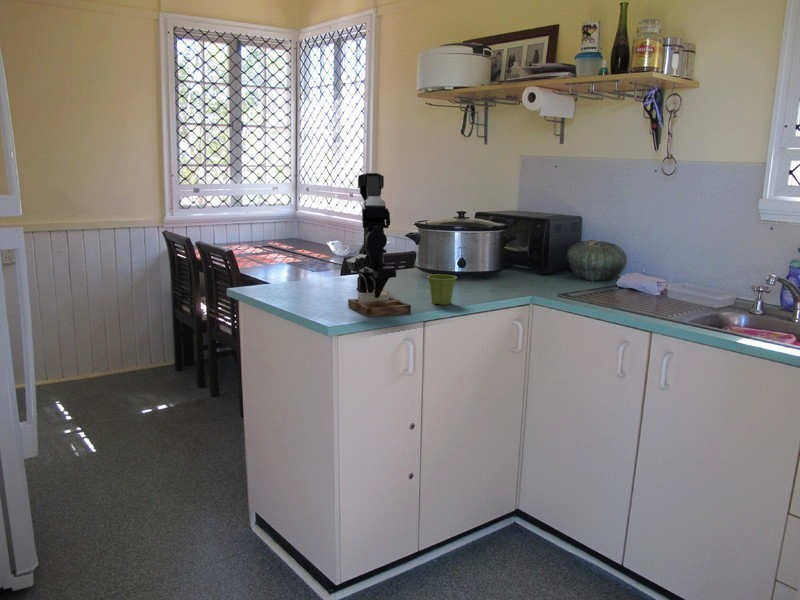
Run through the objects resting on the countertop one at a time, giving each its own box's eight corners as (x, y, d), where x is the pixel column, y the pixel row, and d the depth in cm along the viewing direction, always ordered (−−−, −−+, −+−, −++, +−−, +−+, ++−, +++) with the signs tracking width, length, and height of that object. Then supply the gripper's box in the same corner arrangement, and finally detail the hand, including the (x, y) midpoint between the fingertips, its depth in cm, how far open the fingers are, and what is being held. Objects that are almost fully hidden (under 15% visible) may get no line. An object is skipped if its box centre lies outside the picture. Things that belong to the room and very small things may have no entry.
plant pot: (421, 301, 217) (422, 274, 215) (447, 299, 220) (448, 273, 219) (434, 307, 208) (435, 279, 207) (460, 305, 212) (462, 278, 210)
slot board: (388, 303, 212) (388, 295, 212) (410, 312, 200) (410, 305, 199) (348, 306, 206) (348, 299, 205) (368, 317, 193) (368, 308, 193)
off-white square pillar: (362, 307, 202) (362, 296, 201) (357, 304, 205) (357, 293, 204) (388, 305, 206) (389, 294, 205) (383, 302, 209) (384, 291, 208)
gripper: (337, 243, 206) (337, 292, 209) (363, 251, 190) (362, 304, 193) (370, 241, 211) (369, 290, 215) (397, 249, 195) (396, 301, 199)
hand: (373, 296), depth 205 cm, fingers open, 4 cm apart
